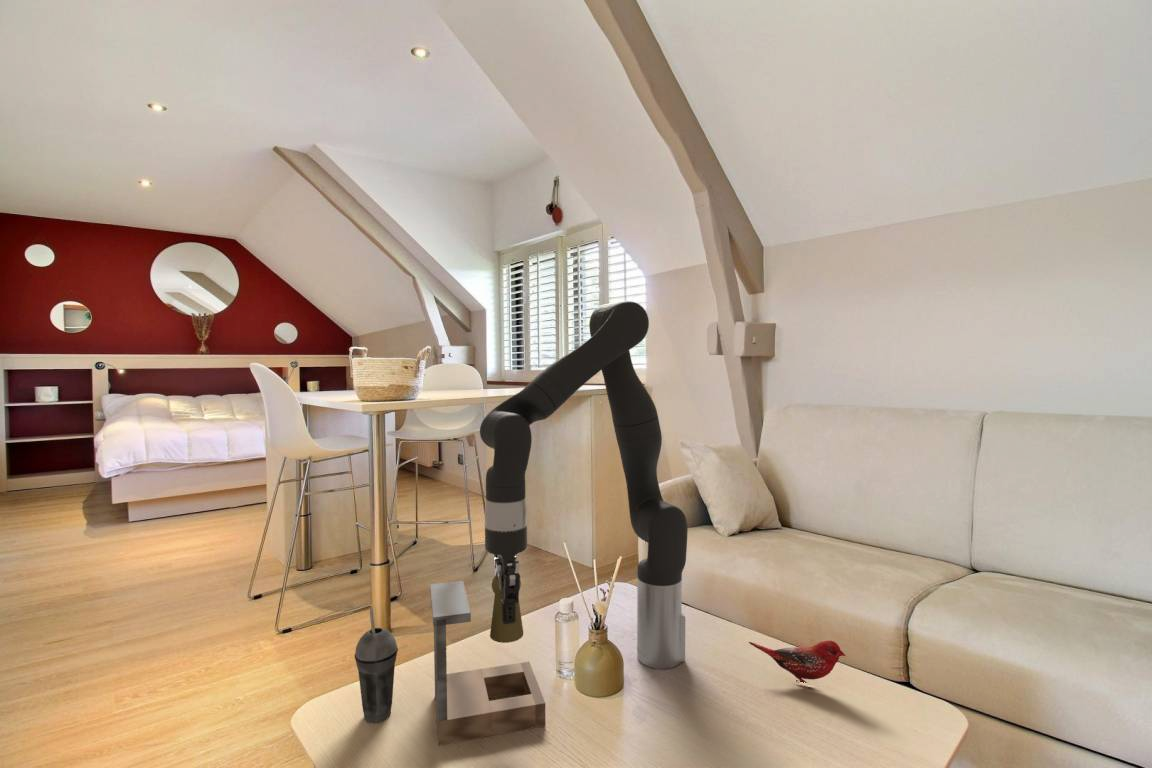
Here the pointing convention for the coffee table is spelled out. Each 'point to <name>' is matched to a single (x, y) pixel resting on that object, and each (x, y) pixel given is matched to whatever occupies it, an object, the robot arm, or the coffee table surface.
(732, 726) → the coffee table surface
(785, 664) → the decorative bird figurine
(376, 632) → the beverage cup
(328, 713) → the coffee table surface
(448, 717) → the socket stand
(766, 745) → the coffee table surface
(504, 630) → the cork
